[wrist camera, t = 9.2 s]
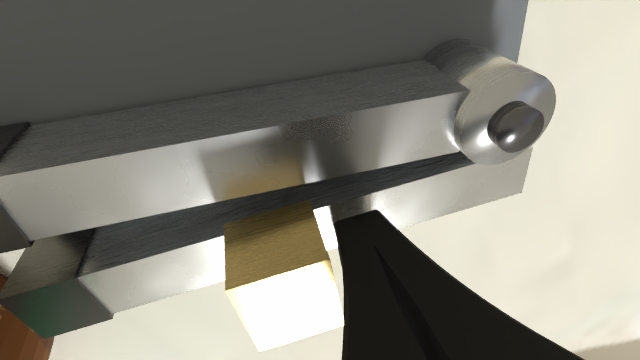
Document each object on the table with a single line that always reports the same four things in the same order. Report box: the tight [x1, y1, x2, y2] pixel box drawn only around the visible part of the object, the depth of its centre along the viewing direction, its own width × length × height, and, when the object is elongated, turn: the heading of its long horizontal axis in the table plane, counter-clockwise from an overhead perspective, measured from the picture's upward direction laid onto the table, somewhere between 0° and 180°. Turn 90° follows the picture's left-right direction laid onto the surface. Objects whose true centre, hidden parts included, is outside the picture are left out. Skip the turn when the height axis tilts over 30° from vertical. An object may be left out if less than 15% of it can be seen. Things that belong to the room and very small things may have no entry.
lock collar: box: [224, 200, 344, 352], centre depth 10 cm, size 2×3×2 cm
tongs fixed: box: [0, 146, 533, 339], centre depth 12 cm, size 16×2×3 cm, turn 98°
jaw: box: [0, 39, 556, 253], centre depth 9 cm, size 15×3×4 cm, turn 93°
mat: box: [0, 0, 528, 126], centre depth 10 cm, size 16×12×1 cm
